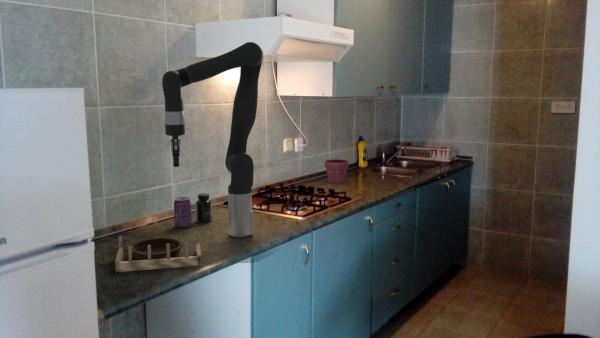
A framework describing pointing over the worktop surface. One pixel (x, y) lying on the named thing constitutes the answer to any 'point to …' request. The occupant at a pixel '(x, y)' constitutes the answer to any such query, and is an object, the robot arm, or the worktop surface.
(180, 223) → the beverage can
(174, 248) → the dish
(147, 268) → the rack
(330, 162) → the plant pot
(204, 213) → the supplement bottle
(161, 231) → the worktop surface
